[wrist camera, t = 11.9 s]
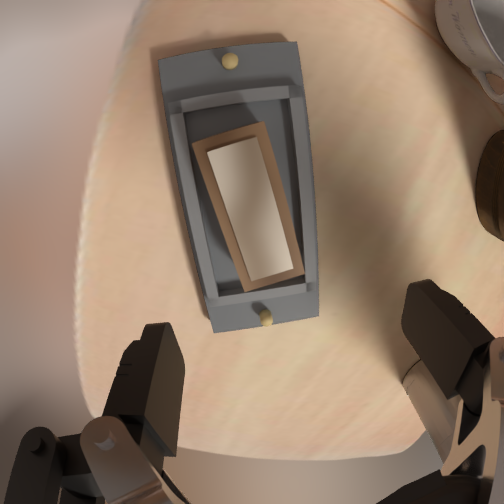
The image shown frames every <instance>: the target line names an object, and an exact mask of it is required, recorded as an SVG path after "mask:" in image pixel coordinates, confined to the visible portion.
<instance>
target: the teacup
mask: <svg viewBox="0 0 504 504" xmlns="http://www.w3.org/2000/svg"><path fill="white" fill-rule="evenodd" d="M435 17H436V23H437V27H438V30H439V32H440V35H441V37H442V39H443V40H444V42H445V43H446V45H447V46H448V48H449V49H450V50H451V51H452V52H453V54H454V55H455V56H456V57H457V58H458V59H459V60H460V61H461V62H462V63H463V64H465V65H466V66H468V67H469V68H470V69H471V71H472V73H473V75H474V76H475V77H477V78H478V80H479V82H480V84H481V86H482V88H483V90H484V91H485V92H486V94H487V95H488V97H490V98H491V99H492V100H493V101H494V102H496V103H499V104H503V105H504V93H503V94H501V95H498V94H496V93H495V92H494V90H493V89H492V87H491V86H490V84H489V82H488V80H487V77H486V73H490V74H495V75H496V76H499V77H501V78H502V79H503V80H504V0H436V2H435Z"/></svg>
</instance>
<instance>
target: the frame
mask: <svg viewBox="0 0 504 504" xmlns="http://www.w3.org/2000/svg"><path fill="white" fill-rule="evenodd" d="M192 146H193V149H194V152H195V155H196V158H197V161H198V164H199V167H200V170H201V172H202V175H203V178H204V181H205V184H206V187H207V190H208V193H209V195H210V198H211V201H212V204H213V207H214V209H215V212H216V215H217V218H218V221H219V224H220V226H221V229H222V232H223V235H224V237H225V240H226V243H227V246H228V248H229V251H230V254H231V257H232V259H233V262H234V265H235V268H236V270H237V273H238V276H239V278H240V281H241V284H242V286H243V289H244V292H247V291H250V290H253V289H257V288H260V287H264V286H267V285H270V284H274V283H277V282H280V281H283V280H287V279H290V278H293V277H296V276H300V275H303V274H305V272H304V268H303V263H302V259H301V255H300V251H299V247H298V243H297V239H296V235H295V231H294V227H293V223H292V219H291V215H290V211H289V207H288V204H287V200H286V196H285V192H284V189H283V185H282V181H281V178H280V174H279V170H278V167H277V163H276V160H275V156H274V153H273V149H272V146H271V142H270V139H269V136H268V132H267V129H266V126H265V122H264V121H261V122H256V123H252V124H249V125H245V126H242V127H239V128H235V129H232V130H229V131H226V132H222V133H219V134H216V135H213V136H210V137H207V138H204V139H201V140H198V141H196V142H194V143H192Z"/></svg>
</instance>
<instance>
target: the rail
mask: <svg viewBox="0 0 504 504" xmlns="http://www.w3.org/2000/svg"><path fill="white" fill-rule="evenodd" d="M158 65H159V72H160V80H161V87H162V94H163V101H164V107H165V114H166V120H167V126H168V132H169V138H170V144H171V149H172V155H173V160H174V166H175V171H176V176H177V181H178V186H179V191H180V196H181V201H182V206H183V210H184V215H185V220H186V224H187V229H188V233H189V238H190V242H191V246H192V250H193V255H194V259H195V263H196V267H197V271H198V275H199V279H200V283H201V287H202V291H203V295H204V299H205V303H206V306H207V310H208V314H209V317H210V321H211V325H212V328H213V332H214V333H219V332H227V331H234V330H241V329H248V328H254V327H261V326H270V325H273V324H279V323H285V322H290V321H296V320H301V319H307V318H312V317H317V316H319V275H318V243H317V222H316V204H315V190H314V176H313V164H312V153H311V143H310V133H309V124H308V115H307V107H306V99H305V92H304V84H303V77H302V70H301V64H300V57H299V51H298V45H297V42H273V43H258V44H247V45H238V46H229V47H222V48H215V49H209V50H203V51H197V52H192V53H187V54H182V55H177V56H173V57H169V58H164V59H160V60H158ZM261 121H264V122H265V126H266V129H267V132H268V136H269V139H270V142H271V146H272V149H273V153H274V156H275V160H276V163H277V167H278V170H279V174H280V178H281V181H282V185H283V189H284V192H285V196H286V200H287V204H288V207H289V211H290V215H291V219H292V223H293V227H294V231H295V235H296V239H297V243H298V247H299V251H300V255H301V259H302V263H303V268H304V272H305V274H303V275H300V276H296V277H293V278H290V279H287V280H283V281H280V282H277V283H274V284H270V285H267V286H264V287H260V288H257V289H253V290H250V291H247V292H244V289H243V286H242V284H241V281H240V278H239V276H238V273H237V270H236V268H235V265H234V262H233V259H232V257H231V254H230V251H229V248H228V246H227V243H226V240H225V237H224V235H223V232H222V229H221V226H220V224H219V221H218V218H217V215H216V212H215V209H214V207H213V204H212V201H211V198H210V195H209V193H208V190H207V187H206V184H205V181H204V178H203V175H202V172H201V170H200V167H199V164H198V161H197V158H196V155H195V152H194V149H193V146H192V143H194V142H196V141H198V140H201V139H204V138H207V137H210V136H213V135H216V134H219V133H222V132H226V131H229V130H232V129H235V128H239V127H242V126H245V125H249V124H252V123H256V122H261Z"/></svg>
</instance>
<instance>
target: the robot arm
mask: <svg viewBox="0 0 504 504" xmlns="http://www.w3.org/2000/svg"><path fill="white" fill-rule="evenodd" d="M401 323H402V329H403V332H404V335H405V336H406V338H407V339H408V340H409V342H410V343H411V345H412V346H413V348H414V349H415V351H416V352H417V354H418V355H419V357H420V358H421V360H420V361H419V362H418V363H416V364H415V365H414V366H413V367H412V368H411V369H410V371H409V372H408V373H407V374H406V376H405V378H404V380H403V387H404V389H405V391H406V393H407V395H408V396H409V398H410V400H411V402H412V404H413V406H414V408H415V409H416V411H417V413H418V415H419V417H420V419H421V421H422V423H423V424H424V426H425V428H426V430H427V432H428V434H429V436H430V438H431V440H432V442H433V444H434V446H435V448H436V450H437V452H438V454H439V456H440V458H441V460H442V462H443V464H444V465H443V467H442V469H441V471H440V470H437V471H435V472H433V473H431V474H429V475H427V476H425V477H422V478H420V479H418V480H416V481H414V482H411V483H409V484H407V485H404V486H403V487H401V488H400V489H398V490H397V491H395V492H394V493H392V494H391V495H389V496H388V497H386V498H385V499H383V500H381V501H380V502H378V503H376V504H504V337H499V338H495V337H494V336H493V335H492V334H491V333H490V332H489V331H488V330H487V329H486V328H485V327H484V326H483V325H482V323H481V322H480V321H479V320H478V319H477V318H476V317H475V316H474V315H473V314H472V313H471V314H470V311H469V310H468V309H467V308H466V307H465V306H464V307H463V304H462V303H461V302H460V301H459V300H458V299H457V298H456V297H455V296H453V295H452V294H450V293H448V292H446V291H444V290H441V289H440V288H439V287H438V286H437V285H436V284H435V283H434V282H433V281H432V280H430V279H426V280H422V281H418V282H413V283H410V284H409V286H408V289H407V294H406V299H405V305H404V310H403V314H402V321H401ZM184 377H185V364H184V359H183V355H182V353H181V350H180V347H179V345H178V342H177V339H176V337H175V334H174V331H173V329H172V326H171V324H170V323H169V322H164V323H154V324H146V325H145V327H144V330H143V333H142V336H141V339H140V340H134V341H133V342H132V343H131V344H130V345H129V346H128V347H127V349H126V350H125V351H124V353H123V355H122V358H121V361H120V366H118V369H117V372H116V377H115V378H114V381H113V384H112V387H111V390H110V393H109V396H108V399H107V402H106V405H105V408H104V411H103V414H102V416H101V417H97V418H95V419H93V420H92V421H90V422H89V423H88V424H87V425H86V426H85V427H84V429H83V430H82V432H81V433H80V434H75V435H69V436H63V437H56V436H55V435H54V434H53V433H52V432H51V431H50V430H49V429H47V428H45V427H35V428H33V429H31V430H29V431H28V432H27V433H26V434H25V435H24V437H23V438H22V440H21V443H20V446H19V449H18V452H17V455H16V458H15V462H14V465H13V469H12V472H11V476H10V480H9V484H8V488H7V492H6V496H5V501H4V504H57V501H58V495H59V490H60V488H62V491H61V498H60V503H59V504H105V500H106V502H107V503H108V504H192V503H191V502H190V501H189V500H188V498H187V497H186V496H185V495H184V494H183V492H182V491H181V490H180V489H179V487H178V486H177V485H176V484H175V483H174V481H173V480H172V479H171V477H170V476H169V475H168V473H167V472H166V471H165V469H164V468H163V461H164V456H169V457H176V451H177V440H178V430H179V420H180V411H181V402H182V393H183V385H184Z"/></svg>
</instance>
